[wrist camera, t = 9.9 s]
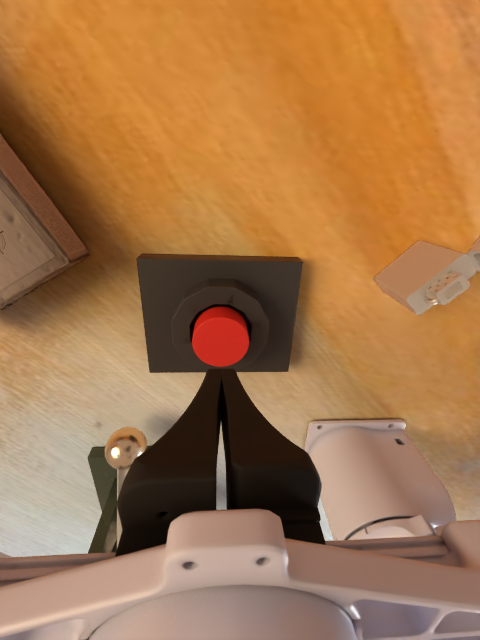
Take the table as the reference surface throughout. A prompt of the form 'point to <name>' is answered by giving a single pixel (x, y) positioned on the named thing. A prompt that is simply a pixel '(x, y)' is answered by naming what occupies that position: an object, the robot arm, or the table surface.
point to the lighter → (429, 275)
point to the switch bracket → (104, 501)
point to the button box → (218, 291)
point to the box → (30, 232)
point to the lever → (123, 459)
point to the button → (220, 336)
